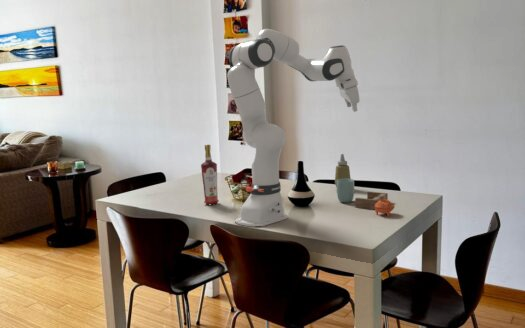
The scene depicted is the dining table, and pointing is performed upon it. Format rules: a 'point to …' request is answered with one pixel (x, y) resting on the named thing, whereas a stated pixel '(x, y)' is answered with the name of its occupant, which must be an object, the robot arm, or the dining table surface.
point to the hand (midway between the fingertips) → (352, 108)
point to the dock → (370, 200)
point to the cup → (345, 190)
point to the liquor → (209, 178)
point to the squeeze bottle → (342, 170)
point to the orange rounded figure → (384, 207)
